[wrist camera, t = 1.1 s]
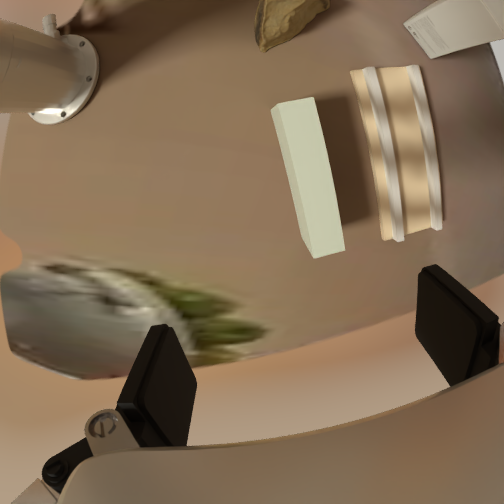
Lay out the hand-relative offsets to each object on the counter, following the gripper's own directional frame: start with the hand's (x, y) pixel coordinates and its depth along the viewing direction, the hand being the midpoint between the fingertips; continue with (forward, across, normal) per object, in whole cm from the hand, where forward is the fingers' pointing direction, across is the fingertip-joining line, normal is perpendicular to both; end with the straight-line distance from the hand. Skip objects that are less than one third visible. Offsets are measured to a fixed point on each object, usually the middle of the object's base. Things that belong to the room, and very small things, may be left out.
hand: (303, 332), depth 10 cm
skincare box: (+27, -28, -20) cm, 44 cm away
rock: (+27, -8, -21) cm, 35 cm away
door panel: (+27, -5, -2) cm, 27 cm away
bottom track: (+27, -19, -2) cm, 33 cm away
